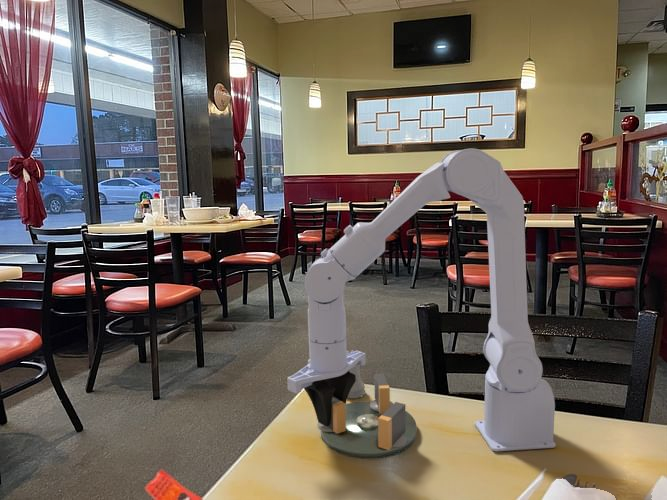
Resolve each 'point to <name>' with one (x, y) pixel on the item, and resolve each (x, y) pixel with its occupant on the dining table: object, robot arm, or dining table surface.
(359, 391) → the rook chess piece
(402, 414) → the knob
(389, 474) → the dining table surface
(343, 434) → the base plate
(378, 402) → the grey block
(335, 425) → the knob
